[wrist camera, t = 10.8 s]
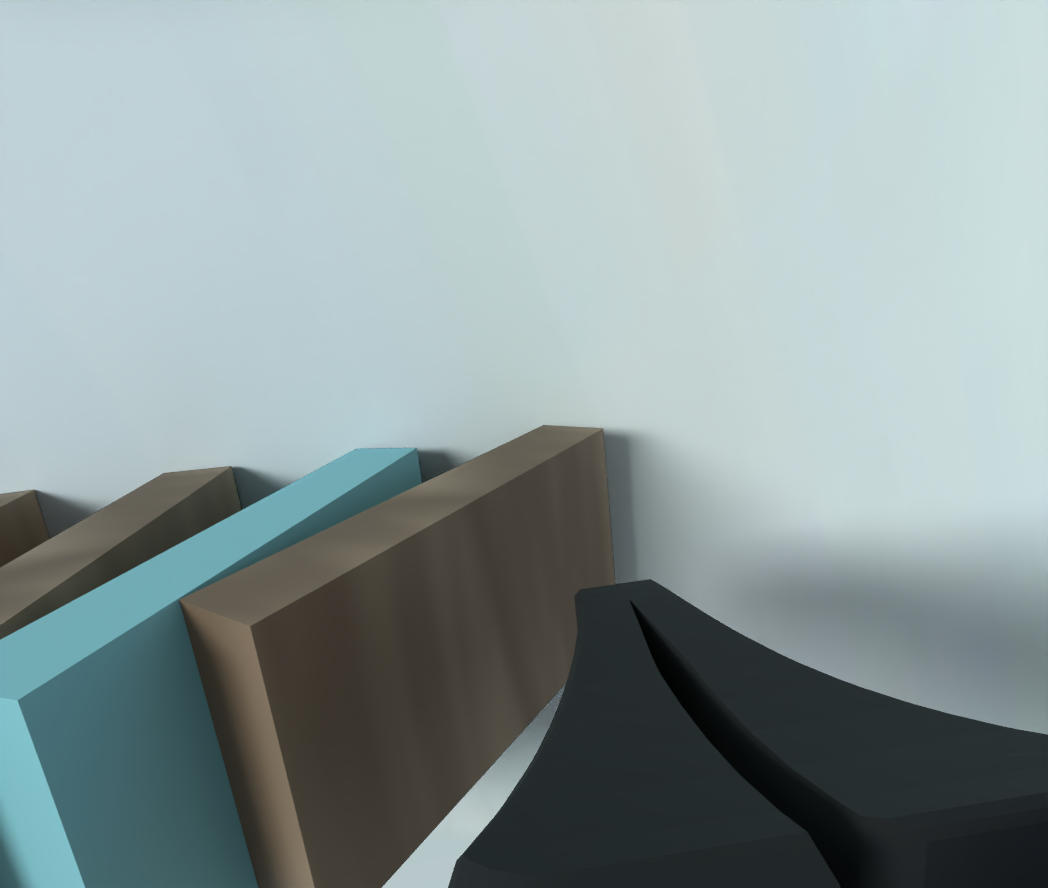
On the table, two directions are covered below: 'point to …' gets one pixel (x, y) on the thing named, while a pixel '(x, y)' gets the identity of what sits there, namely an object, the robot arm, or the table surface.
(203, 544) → the domino
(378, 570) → the domino
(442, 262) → the table surface
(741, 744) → the robot arm
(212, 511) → the domino
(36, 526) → the end domino
